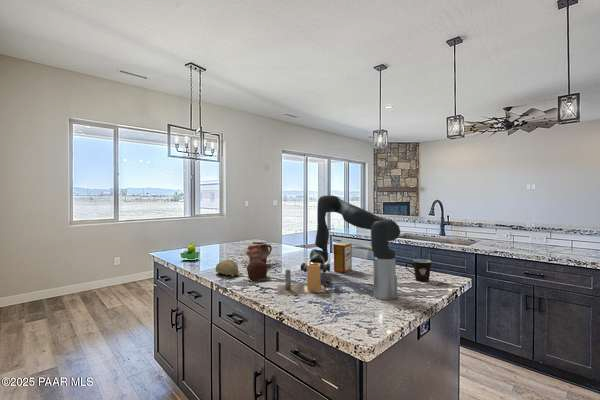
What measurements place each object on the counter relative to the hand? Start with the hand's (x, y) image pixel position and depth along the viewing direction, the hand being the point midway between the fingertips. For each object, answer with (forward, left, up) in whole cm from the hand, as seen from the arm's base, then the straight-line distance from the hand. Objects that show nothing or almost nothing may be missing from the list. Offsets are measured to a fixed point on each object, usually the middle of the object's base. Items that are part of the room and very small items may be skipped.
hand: (314, 270), depth 143 cm
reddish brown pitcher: (+30, -54, -9) cm, 63 cm away
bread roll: (+47, -31, -9) cm, 57 cm away
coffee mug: (-56, -13, -9) cm, 58 cm away
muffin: (+28, -19, -9) cm, 35 cm away
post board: (+6, +3, -9) cm, 11 cm away
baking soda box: (-20, -34, -9) cm, 40 cm away
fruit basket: (+79, -71, -9) cm, 107 cm away
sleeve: (0, +3, -7) cm, 8 cm away
